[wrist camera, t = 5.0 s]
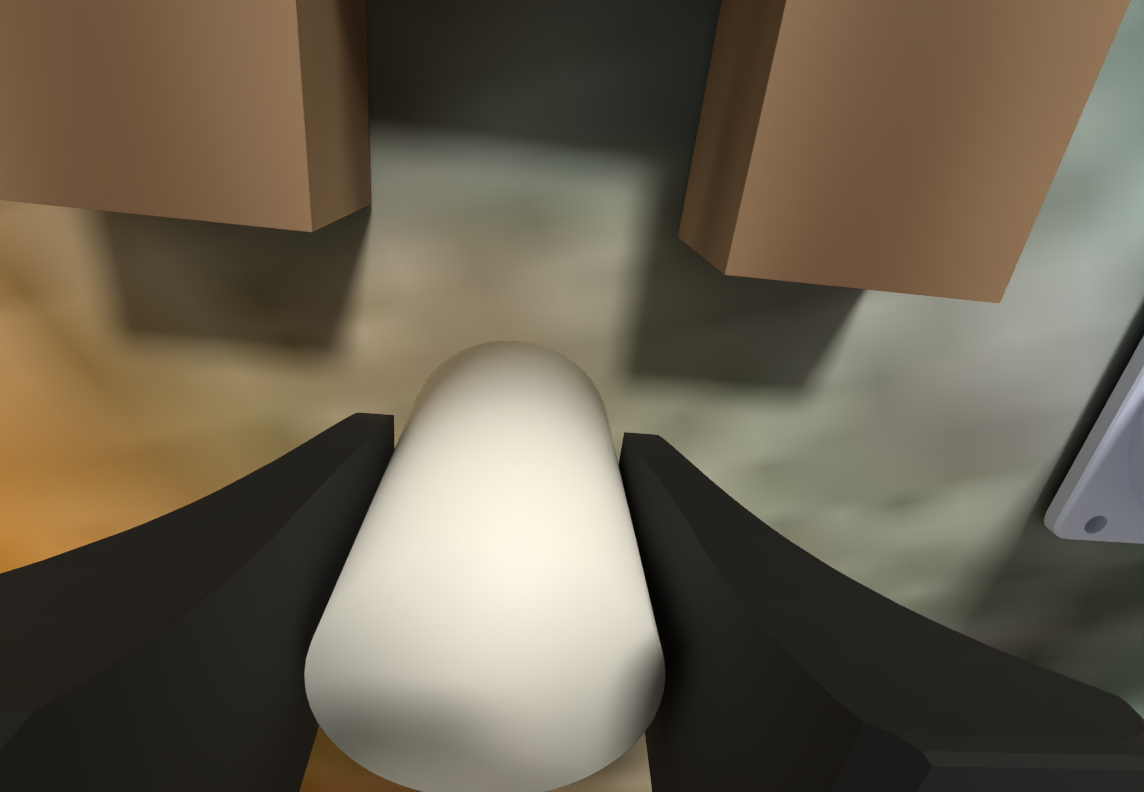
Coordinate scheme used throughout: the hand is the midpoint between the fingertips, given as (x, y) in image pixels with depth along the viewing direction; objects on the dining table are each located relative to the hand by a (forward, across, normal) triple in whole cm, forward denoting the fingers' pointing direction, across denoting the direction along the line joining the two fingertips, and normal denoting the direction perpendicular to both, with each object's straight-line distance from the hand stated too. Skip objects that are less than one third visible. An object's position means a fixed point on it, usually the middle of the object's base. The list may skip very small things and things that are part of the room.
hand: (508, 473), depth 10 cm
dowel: (+2, 0, 0) cm, 2 cm away
